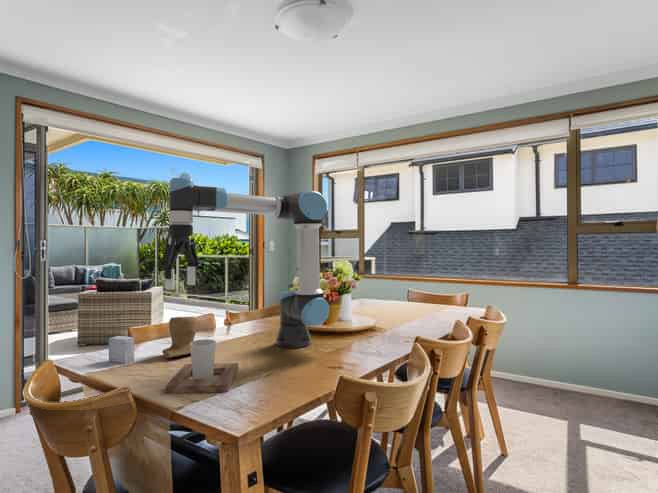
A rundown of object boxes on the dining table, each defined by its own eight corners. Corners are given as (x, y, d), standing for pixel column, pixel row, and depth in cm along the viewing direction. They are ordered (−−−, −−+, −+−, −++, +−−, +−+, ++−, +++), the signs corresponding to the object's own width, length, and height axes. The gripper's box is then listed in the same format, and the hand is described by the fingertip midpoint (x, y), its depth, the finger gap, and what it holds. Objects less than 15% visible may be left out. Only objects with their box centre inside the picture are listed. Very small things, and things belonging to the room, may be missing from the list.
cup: (192, 376, 134) (192, 339, 133) (217, 375, 135) (217, 339, 134) (187, 384, 126) (187, 346, 125) (213, 383, 127) (213, 345, 126)
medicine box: (134, 360, 151) (134, 337, 151) (125, 364, 147) (125, 339, 147) (118, 358, 154) (118, 335, 154) (108, 361, 150) (108, 338, 149)
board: (238, 368, 142) (238, 362, 142) (228, 391, 120) (228, 384, 120) (185, 369, 141) (185, 363, 141) (165, 393, 119) (165, 386, 119)
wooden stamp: (189, 348, 170) (189, 312, 169) (206, 353, 162) (206, 315, 162) (154, 355, 158) (154, 317, 158) (170, 361, 150) (170, 320, 150)
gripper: (189, 225, 151) (189, 283, 151) (148, 222, 126) (148, 290, 127) (208, 225, 150) (208, 283, 150) (170, 222, 125) (170, 291, 125)
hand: (180, 287), depth 138 cm, fingers open, 13 cm apart
